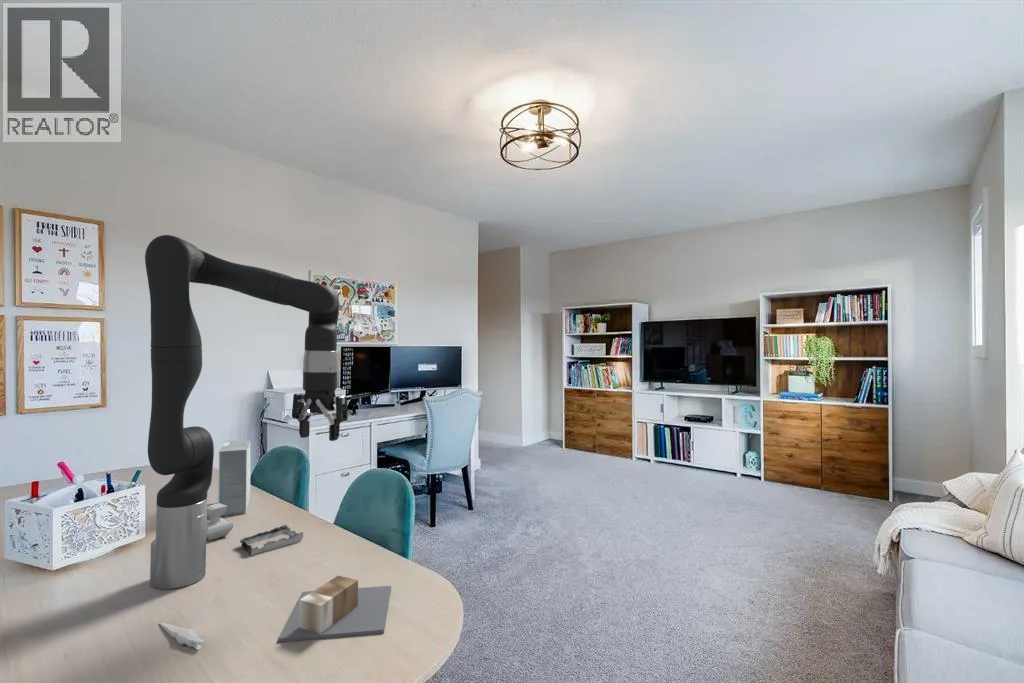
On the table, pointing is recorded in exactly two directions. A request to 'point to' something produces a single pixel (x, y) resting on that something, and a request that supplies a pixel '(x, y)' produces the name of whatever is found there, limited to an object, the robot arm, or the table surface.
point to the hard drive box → (234, 476)
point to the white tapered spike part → (184, 635)
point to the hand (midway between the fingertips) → (319, 438)
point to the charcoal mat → (346, 617)
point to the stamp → (217, 522)
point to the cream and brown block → (328, 604)
